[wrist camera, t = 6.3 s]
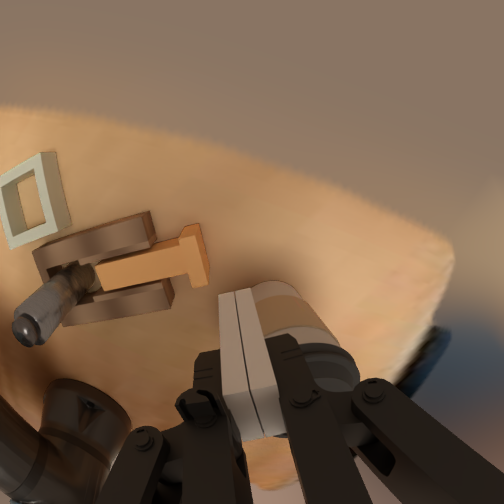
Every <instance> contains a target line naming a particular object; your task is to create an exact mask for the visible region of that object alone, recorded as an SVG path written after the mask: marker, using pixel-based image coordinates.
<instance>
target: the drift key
mask: <svg viewBox="0 0 504 504" xmlns="http://www.w3.org/2000/svg"><path fill="white" fill-rule="evenodd" d="M95 269H96V272H97V275H98V277H99V280H100V282H101V285H102V288H103V290H104V291H108V290H113V289H117V288H122V287H127V286H131V285H136V284H140V283H145V282H150V281H154V280H159V279H163V278H168V277H173V276H177V275H182V274H186V273H188V275H189V278H190V282H191V285H192V288H196V287H201V286H206V285H208V284H209V269H210V265H209V262H208V258H207V254H206V250H205V246H204V242H203V238H202V234H201V230H200V226H199V223H198V224H194V225H190V226H186V227H184V229H183V231H182V233H181V235H180V237H179V238H175V239H171V240H167V241H163V242H159V243H155V244H152V246H151V247H150V248H146V249H142V250H138V251H134V252H130V253H126V254H122V255H118V256H114V257H110V258H107V259H103V260H101V261H100V262H99V263H98V264H97V265H96V266H95Z"/></svg>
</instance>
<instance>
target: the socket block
mask: <svg viewBox="0 0 504 504" xmlns="http://www.w3.org/2000/svg"><path fill="white" fill-rule="evenodd" d="M156 239H157V236H156V233H155V229H154V226H153V222H152V218H151V215H150V211H147V212H143V213H140V214H136V215H133V216H129V217H126V218H122V219H119V220H116V221H112V222H109V223H106V224H102V225H99V226H96V227H93V228H90V229H86V230H83V231H80V232H77V233H74V234H71V235H68V236H65V237H62V238H59V239H56V240H54V241H51V242H48V243H45V244H44V245H42V246H40V247H39V248H37V249H35V250H34V251H32V254H33V257H34V260H35V262H36V265H37V268H38V271H39V273H40V276H41V278H42V281H43V283H46V282H47V281H48V280H49V279H50V278H52V277H53V276H54V275H55V274H56V273H58V272H59V271H60V270H61V269H63V268H62V266H61V264H65V263H68V262H72V261H75V260H79V263H80V265H84V264H88V263H91V262H95V261H99V260H103V259H107V258H110V257H114V256H118V255H122V254H126V253H130V252H134V251H138V250H142V249H146V248H150V247H151V246H152V244H153V243H154V242H155V240H156ZM174 295H175V294H174V291H173V288H172V285H171V282H170V279H169V277H168V278H163V279H159V280H154V281H150V282H145V283H140V284H136V285H131V286H127V287H122V288H117V289H113V290H108V291H104V290H103V288H102V286H101V287H100V289H99V290H98V291H96V292H91V293H86V294H85V295H84V296H83V297H82V298H81V299H80V300H79V301H78V303H77V304H76V305H75V306H74V307H73V308H72V310H71V311H70V312H69V313H68V314H67V316H66V317H65V318H64V319H63V321H62V322H61V323H62V325H63V327H67V326H74V325H80V324H87V323H93V322H99V321H105V320H111V319H117V318H123V317H129V316H134V315H140V314H145V313H151V312H156V311H161V310H166V309H171V306H172V302H173V299H174Z"/></svg>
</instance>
